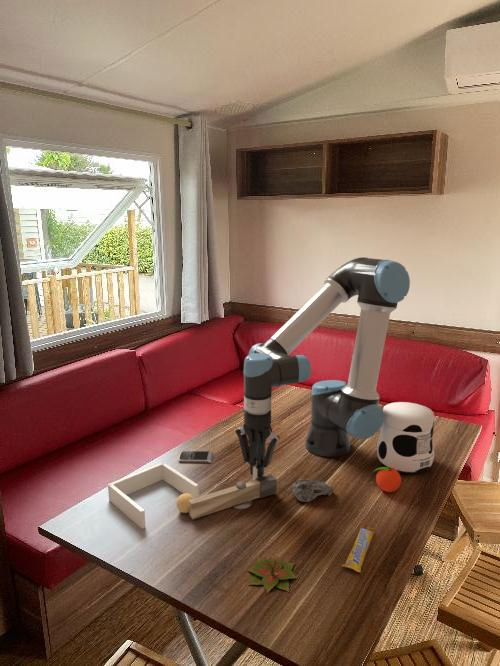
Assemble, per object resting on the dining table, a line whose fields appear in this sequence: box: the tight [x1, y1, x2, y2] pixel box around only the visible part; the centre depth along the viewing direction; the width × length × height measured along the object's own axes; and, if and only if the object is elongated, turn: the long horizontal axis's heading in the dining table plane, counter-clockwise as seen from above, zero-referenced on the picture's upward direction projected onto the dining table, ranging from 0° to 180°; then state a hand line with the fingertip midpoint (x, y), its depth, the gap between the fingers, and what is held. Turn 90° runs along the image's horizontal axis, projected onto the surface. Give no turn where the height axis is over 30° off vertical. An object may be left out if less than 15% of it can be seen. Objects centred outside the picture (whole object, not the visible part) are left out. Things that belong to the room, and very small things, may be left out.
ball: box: [176, 493, 194, 514], centre depth 131 cm, size 5×5×5 cm
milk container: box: [376, 401, 435, 474], centre depth 153 cm, size 17×17×18 cm
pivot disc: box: [232, 500, 253, 510], centre depth 135 cm, size 6×6×1 cm
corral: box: [107, 461, 200, 530], centre depth 136 cm, size 18×18×5 cm
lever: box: [188, 473, 278, 520], centre depth 133 cm, size 3×26×5 cm, turn 120°
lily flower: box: [246, 554, 299, 594], centre depth 108 cm, size 12×12×5 cm
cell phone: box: [178, 450, 214, 464], centre depth 160 cm, size 6×11×1 cm, turn 88°
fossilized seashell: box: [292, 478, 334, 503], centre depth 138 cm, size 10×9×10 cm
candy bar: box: [341, 525, 376, 573], centre depth 116 cm, size 17×4×2 cm, turn 154°
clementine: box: [373, 466, 402, 493], centre depth 140 cm, size 8×7×7 cm
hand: (256, 485), depth 141 cm, fingers closed
